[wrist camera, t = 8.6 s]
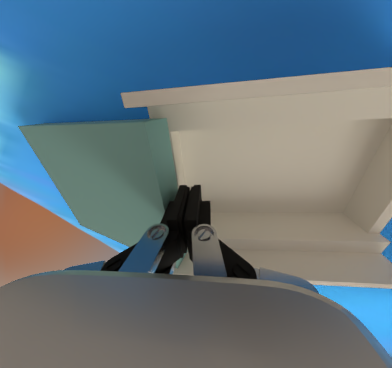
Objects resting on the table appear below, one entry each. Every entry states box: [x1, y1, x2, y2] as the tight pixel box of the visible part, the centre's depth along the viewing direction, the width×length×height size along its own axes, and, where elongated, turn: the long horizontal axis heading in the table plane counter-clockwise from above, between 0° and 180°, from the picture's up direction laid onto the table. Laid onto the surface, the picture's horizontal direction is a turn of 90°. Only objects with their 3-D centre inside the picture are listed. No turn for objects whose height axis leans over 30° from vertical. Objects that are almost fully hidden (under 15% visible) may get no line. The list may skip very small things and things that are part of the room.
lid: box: [18, 118, 186, 269], centre depth 15 cm, size 16×13×2 cm
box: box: [121, 67, 392, 289], centre depth 12 cm, size 20×15×8 cm
